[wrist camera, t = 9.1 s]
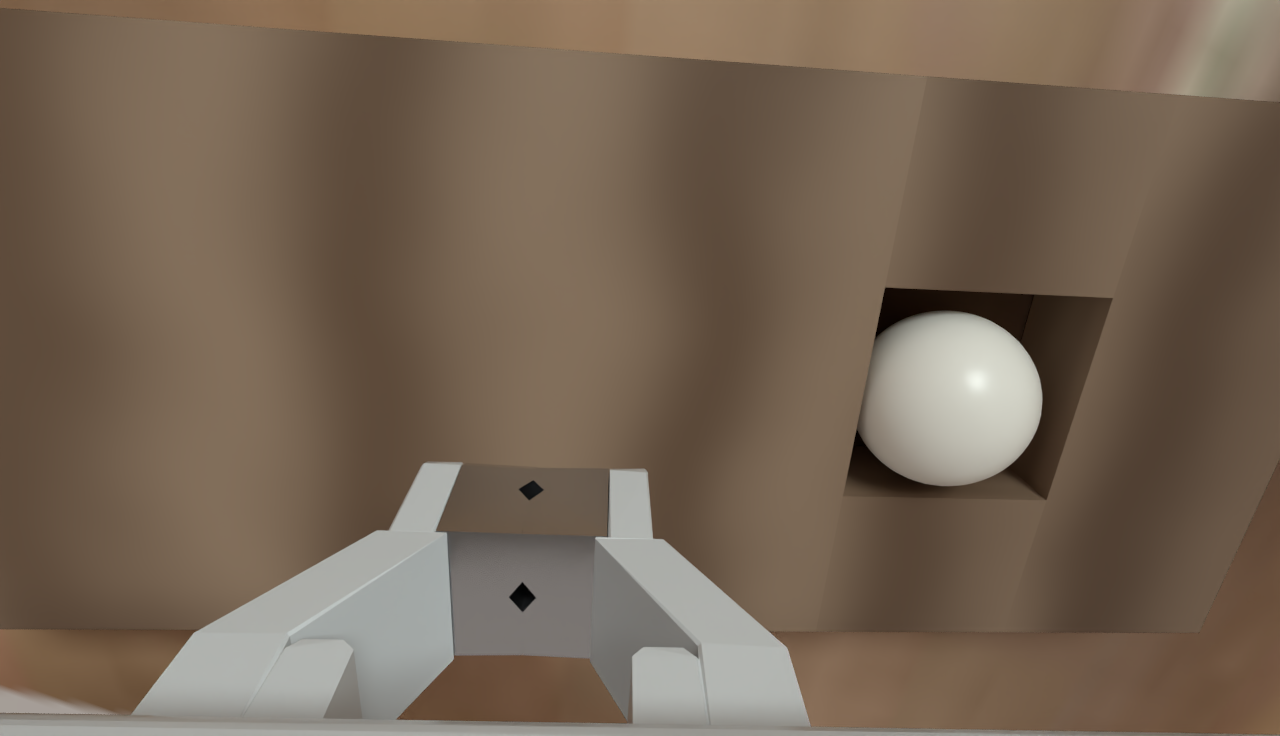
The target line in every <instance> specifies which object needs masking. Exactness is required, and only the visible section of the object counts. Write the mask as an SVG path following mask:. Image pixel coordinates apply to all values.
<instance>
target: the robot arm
mask: <svg viewBox="0 0 1280 736" xmlns="http://www.w3.org/2000/svg"><path fill="white" fill-rule="evenodd" d="M454 655H531V656H551V657H571V658H590V662H591V664H592V666H593V667H594V669H595V670H596V672H597V674H598V675H599V677H600V678H601V680H602V682H603V683H604V685H605V686H606V688H607V690H608V691H609V693H610V694H611V696H612V698H613V699H614V701H615V702H616V704H617V706H618V707H619V709H620V710H621V712H622V714H623V715H624V717H625V718H626V720H627V724H626V723H567V722H499V721H442V720H396V719H397V718H398V717H399V716H400V715H401V714H402V712H403V711H404V710H405V709H406V708H407V707H408V706H409V705H410V704H411V703H412V702H413V701H414V700H415V699H416V698H417V697H418V696H419V695H420V694H421V693H422V692H423V691H424V690H425V689H426V688H427V687H428V686H429V685H430V684H431V682H432V681H433V680H434V679H435V678H436V677H437V676H438V675H439V674H440V673H441V672H442V671H443V670H444V669H445V668H446V667H447V666H448V665H449V664H450V663H451V662H452V661H453V660H454ZM0 736H1280V735H1278V734H1219V733H1160V732H1101V731H1042V730H983V729H917V728H859V727H811V725H810V722H809V719H808V715H807V712H806V709H805V705H804V702H803V699H802V695H801V692H800V689H799V685H798V682H797V679H796V675H795V672H794V669H793V665H792V662H791V659H790V655H789V652H788V649H787V647H786V646H785V645H783V644H782V643H781V642H780V641H779V640H778V639H777V638H775V637H774V636H773V635H772V634H771V633H770V632H769V631H767V630H766V629H765V628H764V627H763V626H762V625H761V624H759V623H758V622H757V621H756V620H755V619H754V618H753V617H752V616H750V615H749V614H748V613H747V612H746V611H745V610H744V609H742V608H741V607H740V606H739V605H738V604H737V603H736V602H734V601H733V600H732V599H731V598H730V597H729V596H728V595H726V594H725V593H724V592H723V591H722V590H721V589H720V588H719V587H717V586H716V585H715V584H714V583H713V582H712V581H711V580H709V579H708V578H707V577H706V576H705V575H704V574H703V573H701V572H700V571H699V570H698V569H697V568H696V567H695V566H693V565H692V564H691V563H690V562H689V561H688V560H687V559H686V558H684V557H683V556H682V555H681V554H680V553H679V552H678V551H676V550H675V549H674V548H673V547H672V546H671V545H670V544H668V543H667V542H666V541H665V540H663V539H653V532H652V519H651V507H650V495H649V483H648V472H647V471H646V470H645V469H610V471H609V469H602V468H538V467H529V466H511V465H493V464H476V463H465V464H463V463H462V462H426V463H424V464H423V465H422V466H421V467H420V469H419V471H418V473H417V475H416V477H415V479H414V481H413V483H412V485H411V487H410V489H409V491H408V493H407V495H406V497H405V499H404V501H403V503H402V505H401V507H400V509H399V510H398V512H397V514H396V516H395V518H394V520H393V522H392V524H391V526H390V528H389V530H388V531H384V530H377V531H375V532H373V533H371V534H369V535H368V536H366V537H364V538H362V539H360V540H359V541H357V542H355V543H353V544H352V545H350V546H348V547H346V548H344V549H343V550H341V551H339V552H337V553H336V554H334V555H332V556H330V557H328V558H327V559H325V560H323V561H321V562H319V563H318V564H316V565H314V566H312V567H311V568H309V569H307V570H305V571H303V572H302V573H300V574H298V575H296V576H294V577H293V578H291V579H289V580H287V581H286V582H284V583H282V584H280V585H278V586H277V587H275V588H273V589H271V590H270V591H268V592H266V593H264V594H262V595H261V596H259V597H257V598H255V599H253V600H252V601H250V602H248V603H246V604H245V605H243V606H241V607H239V608H237V609H236V610H234V611H232V612H230V613H228V614H227V615H225V616H223V617H221V618H220V619H218V620H216V621H214V622H212V623H211V624H209V625H207V626H205V627H204V628H202V629H200V630H198V631H196V632H195V633H193V635H192V636H191V637H190V639H189V640H188V641H187V642H186V644H185V645H184V646H183V648H182V649H181V650H180V652H179V653H178V654H177V655H176V657H175V658H174V659H173V661H172V662H171V663H170V665H169V666H168V667H167V668H166V670H165V671H164V672H163V674H162V675H161V676H160V678H159V679H158V680H157V681H156V683H155V684H154V685H153V687H152V688H151V689H150V691H149V692H148V693H147V694H146V696H145V697H144V698H143V700H142V701H141V702H140V704H139V705H138V706H137V707H136V709H135V710H134V711H133V713H132V714H131V715H95V714H37V713H0Z"/></svg>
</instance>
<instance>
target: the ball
mask: <svg viewBox="0 0 1280 736" xmlns="http://www.w3.org/2000/svg"><path fill="white" fill-rule="evenodd" d="M1041 411H1042V389H1041V383H1040V378H1039V375H1038V372H1037V369H1036V367H1035V365H1034V363H1033V361H1032V359H1031V357H1030V355H1029V354H1028V353H1027V351H1026V350H1025V349H1024V347H1023V346H1022V345H1021V344H1020V342H1019V341H1018V340H1016V339H1015V338H1014V337H1013V336H1012V335H1011V334H1010V333H1009V332H1007V331H1006V330H1005V329H1003V328H1002V327H1000V326H998V325H997V324H995V323H993V322H992V321H990V320H987V319H985V318H982V317H980V316H977V315H974V314H970V313H965V312H960V311H949V310H943V311H929V312H924V313H919V314H916V315H913V316H910V317H907V318H904V319H902V320H900V321H898V322H896V323H894V324H893V325H891V326H890V327H888V328H887V329H885V330H884V331H883V332H882V333H880V334H879V335H878V336H877V337H876V338H875V339H874V344H873V349H872V354H871V359H870V364H869V369H868V374H867V379H866V384H865V389H864V394H863V399H862V404H861V409H860V414H859V419H858V424H857V430H858V432H859V434H860V436H861V438H862V440H863V442H864V443H865V444H866V446H867V447H868V449H869V450H870V451H871V452H872V453H873V454H874V455H875V456H876V457H877V458H878V459H879V460H880V461H881V462H882V463H883V464H885V465H886V466H887V467H889V468H890V469H891V470H893V471H895V472H896V473H898V474H900V475H902V476H904V477H906V478H908V479H911V480H914V481H917V482H921V483H924V484H930V485H937V486H960V485H967V484H972V483H976V482H979V481H982V480H985V479H987V478H990V477H992V476H994V475H996V474H998V473H999V472H1001V471H1003V470H1004V469H1005V468H1007V467H1008V466H1010V465H1011V464H1012V463H1013V462H1014V461H1015V460H1016V459H1017V458H1018V457H1019V456H1020V455H1021V454H1022V453H1023V452H1024V450H1025V449H1026V448H1027V447H1028V445H1029V443H1030V442H1031V440H1032V439H1033V437H1034V435H1035V433H1036V430H1037V428H1038V425H1039V422H1040V417H1041Z"/></svg>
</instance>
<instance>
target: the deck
mask: <svg viewBox="0 0 1280 736" xmlns="http://www.w3.org/2000/svg"><path fill="white" fill-rule="evenodd" d="M885 287H887V288H908V289H930V290H951V291H973V292H994V293H1016V294H1034V297H1033V301H1032V304H1031V308H1030V312H1029V315H1028V319H1027V322H1026V326H1025V329H1024V333H1023V336H1022V340H1021V343H1020V344H1021V345H1022V346H1023V347H1024V349H1025V350H1026V351H1027V353H1028V354H1029V355H1030V357H1031V359H1032V361H1033V363H1034V365H1035V367H1036V369H1037V372H1038V375H1039V378H1040V383H1041V389H1042V411H1041V417H1040V422H1039V425H1038V428H1037V430H1036V433H1035V435H1034V437H1033V439H1032V440H1031V442H1030V443H1029V445H1028V447H1027V448H1026V449H1025V450H1024V452H1023V453H1022V454H1021V455H1020V456H1019V457H1018V458H1017V459H1016V460H1015V461H1014V462H1013V463H1012V464H1011V465H1010V466H1008V467H1007V468H1005V469H1004V470H1003V471H1001V472H999V473H998V474H996V475H994V476H992V477H990V478H987V479H985V480H982V481H979V482H976V483H972V484H967V485H960V486H937V485H930V484H924V483H921V482H917V481H914V480H911V479H908V478H906V477H904V476H902V475H900V474H898V473H896V472H895V471H893V470H891V469H890V468H889V467H887V466H886V465H885V464H883V463H882V462H881V461H880V460H879V459H878V458H877V457H876V456H875V455H874V454H873V453H872V452H871V451H870V450H869V449H868V447H863V446H853V444H854V439H855V434H856V429H857V424H858V419H859V414H860V409H861V404H862V399H863V394H864V389H865V384H866V379H867V374H868V369H869V364H870V359H871V354H872V349H873V344H874V339H875V334H876V330H877V325H878V320H879V315H880V310H881V305H882V300H883V295H884V290H885ZM1279 460H1280V102H1267V101H1253V100H1240V99H1226V98H1212V97H1199V96H1185V95H1172V94H1158V93H1145V92H1131V91H1118V90H1104V89H1090V88H1077V87H1063V86H1050V85H1036V84H1023V83H1009V82H996V81H982V80H969V79H955V78H941V77H928V76H914V75H901V74H887V73H874V72H860V71H847V70H833V69H820V68H806V67H792V66H779V65H765V64H752V63H738V62H725V61H711V60H698V59H684V58H670V57H657V56H643V55H630V54H616V53H603V52H589V51H576V50H562V49H549V48H535V47H521V46H508V45H494V44H481V43H467V42H454V41H440V40H427V39H413V38H400V37H386V36H372V35H359V34H345V33H332V32H318V31H305V30H291V29H278V28H264V27H250V26H237V25H223V24H210V23H196V22H183V21H169V20H156V19H142V18H129V17H115V16H101V15H88V14H74V13H61V12H47V11H34V10H20V9H7V8H0V629H106V630H200V629H202V628H204V627H205V626H207V625H209V624H211V623H212V622H214V621H216V620H218V619H220V618H221V617H223V616H225V615H227V614H228V613H230V612H232V611H234V610H236V609H237V608H239V607H241V606H243V605H245V604H246V603H248V602H250V601H252V600H253V599H255V598H257V597H259V596H261V595H262V594H264V593H266V592H268V591H270V590H271V589H273V588H275V587H277V586H278V585H280V584H282V583H284V582H286V581H287V580H289V579H291V578H293V577H294V576H296V575H298V574H300V573H302V572H303V571H305V570H307V569H309V568H311V567H312V566H314V565H316V564H318V563H319V562H321V561H323V560H325V559H327V558H328V557H330V556H332V555H334V554H336V553H337V552H339V551H341V550H343V549H344V548H346V547H348V546H350V545H352V544H353V543H355V542H357V541H359V540H360V539H362V538H364V537H366V536H368V535H369V534H371V533H373V532H375V531H377V530H384V531H388V530H389V528H390V526H391V524H392V522H393V520H394V518H395V516H396V514H397V512H398V510H399V509H400V507H401V505H402V503H403V501H404V499H405V497H406V495H407V493H408V491H409V489H410V487H411V485H412V483H413V481H414V479H415V477H416V475H417V473H418V471H419V469H420V467H421V466H422V465H423V464H424V463H426V462H462V463H463V464H465V463H476V464H493V465H511V466H529V467H538V468H602V469H609V471H610V469H645V470H646V471H647V472H648V483H649V495H650V507H651V519H652V532H653V539H663V540H665V541H666V542H667V543H668V544H670V545H671V546H672V547H673V548H674V549H675V550H676V551H678V552H679V553H680V554H681V555H682V556H683V557H684V558H686V559H687V560H688V561H689V562H690V563H691V564H692V565H693V566H695V567H696V568H697V569H698V570H699V571H700V572H701V573H703V574H704V575H705V576H706V577H707V578H708V579H709V580H711V581H712V582H713V583H714V584H715V585H716V586H717V587H719V588H720V589H721V590H722V591H723V592H724V593H725V594H726V595H728V596H729V597H730V598H731V599H732V600H733V601H734V602H736V603H737V604H738V605H739V606H740V607H741V608H742V609H744V610H745V611H746V612H747V613H748V614H749V615H750V616H752V617H753V618H754V619H755V620H756V621H757V622H758V623H759V624H761V625H762V626H763V627H764V628H765V629H766V630H767V631H770V632H1103V633H1199V632H1200V630H1201V628H1202V626H1203V624H1204V622H1205V619H1206V617H1207V615H1208V613H1209V611H1210V609H1211V606H1212V604H1213V602H1214V600H1215V598H1216V596H1217V594H1218V591H1219V589H1220V587H1221V585H1222V583H1223V581H1224V578H1225V576H1226V574H1227V572H1228V570H1229V568H1230V565H1231V563H1232V561H1233V559H1234V557H1235V555H1236V553H1237V550H1238V548H1239V546H1240V544H1241V542H1242V540H1243V537H1244V535H1245V533H1246V531H1247V529H1248V527H1249V524H1250V522H1251V520H1252V518H1253V516H1254V514H1255V511H1256V509H1257V507H1258V505H1259V503H1260V501H1261V499H1262V496H1263V494H1264V492H1265V490H1266V488H1267V486H1268V483H1269V481H1270V479H1271V477H1272V475H1273V473H1274V470H1275V468H1276V466H1277V464H1278V462H1279Z"/></svg>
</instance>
